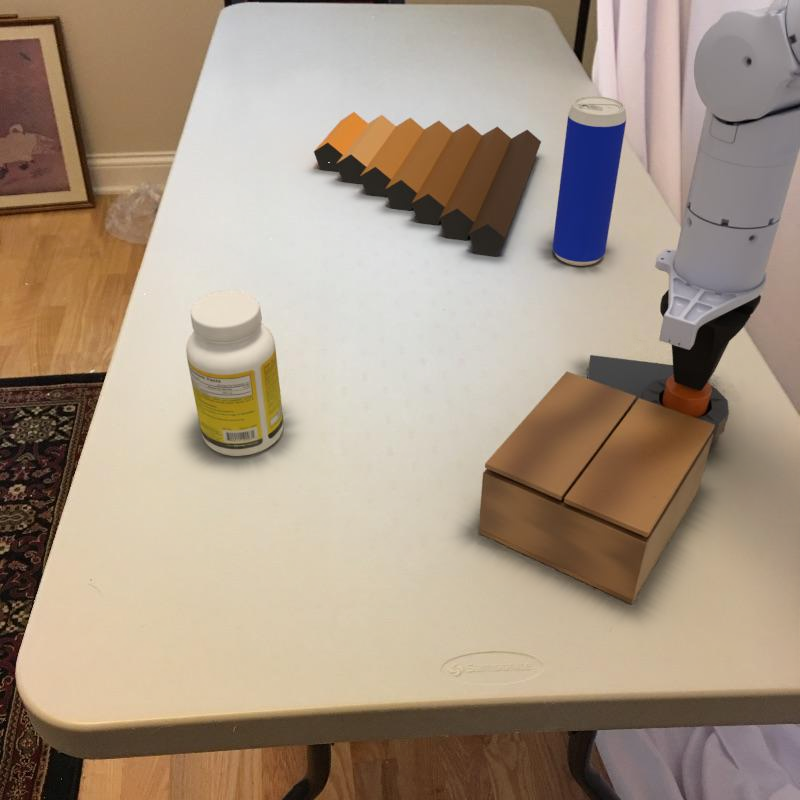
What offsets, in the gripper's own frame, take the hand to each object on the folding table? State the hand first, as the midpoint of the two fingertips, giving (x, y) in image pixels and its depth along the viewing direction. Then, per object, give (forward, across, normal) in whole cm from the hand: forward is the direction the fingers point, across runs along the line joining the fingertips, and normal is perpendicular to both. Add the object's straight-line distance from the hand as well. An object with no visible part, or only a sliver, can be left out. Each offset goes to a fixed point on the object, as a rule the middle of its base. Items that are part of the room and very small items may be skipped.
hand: (690, 381), depth 65 cm
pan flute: (+5, -24, -40) cm, 47 cm away
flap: (-1, +12, +1) cm, 12 cm away
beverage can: (+5, -21, -18) cm, 28 cm away
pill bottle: (+5, +18, -27) cm, 33 cm away
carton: (+5, +12, -2) cm, 13 cm away
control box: (+5, -1, -3) cm, 6 cm away
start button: (+2, 0, 0) cm, 2 cm away
